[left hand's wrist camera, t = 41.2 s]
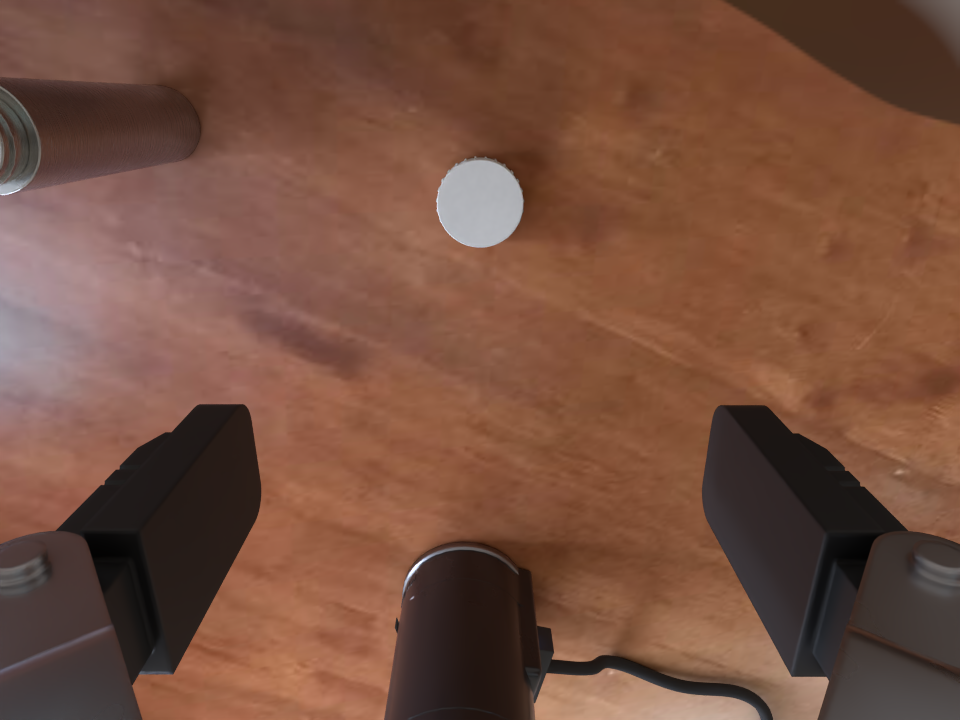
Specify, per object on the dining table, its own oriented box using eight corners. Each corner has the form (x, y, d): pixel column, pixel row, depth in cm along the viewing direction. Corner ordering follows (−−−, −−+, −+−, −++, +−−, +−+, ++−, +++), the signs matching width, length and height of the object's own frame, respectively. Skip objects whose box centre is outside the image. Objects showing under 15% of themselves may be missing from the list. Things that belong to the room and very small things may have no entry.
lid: (435, 240, 40) (433, 246, 38) (439, 153, 38) (437, 155, 36) (518, 245, 40) (520, 251, 38) (526, 158, 38) (528, 161, 36)
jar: (122, 82, 36) (-126, 69, 21) (197, 88, 37) (0, 78, 22) (132, 159, 38) (-94, 196, 23) (203, 164, 38) (25, 204, 23)
